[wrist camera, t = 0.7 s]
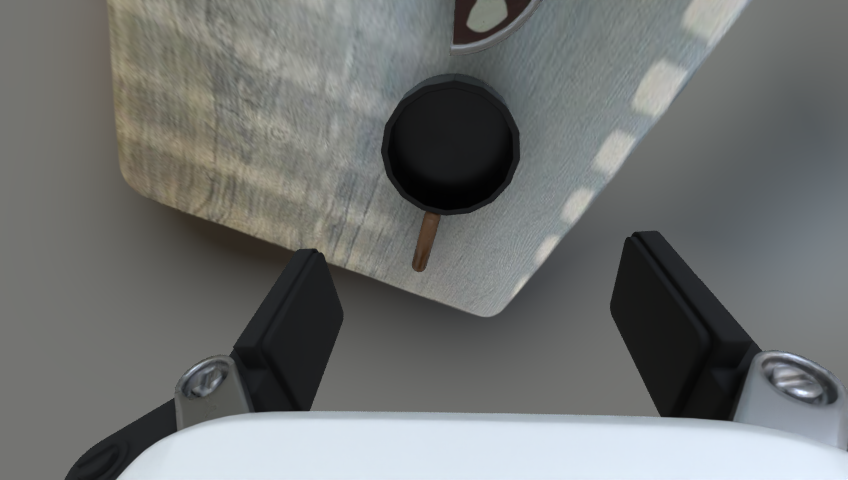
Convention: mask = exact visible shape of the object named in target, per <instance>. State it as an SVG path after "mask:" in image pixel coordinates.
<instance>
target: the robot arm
mask: <svg viewBox="0 0 848 480" xmlns="http://www.w3.org/2000/svg"><path fill="white" fill-rule="evenodd" d="M610 311H611V315H612V317H613V319H614V321H615V323H616V325H617V327H618V330H619V331H620V334H621V336H622V338H623V340H624V342H625V344H626V346H627V348H628V350H629V352H630V354H631V356H632V359H633V360H634V363H635V365H636V367H637V369H638V371H639V373H640V375H641V377H642V379H643V381H644V383H645V386H646V388H647V390H648V392H649V394H650V396H651V398H652V400H653V402H654V404H655V406H656V408H657V410H658V412H659V414H660V416H661V417H642V416H608V415H607V416H606V415H557V414H556V415H555V414H506V413H505V414H503V413H441V412H439V413H438V412H354V411H353V412H352V411H349V412H348V411H310V409H311V406H312V403H313V400H314V398H315V395H316V392H317V389H318V387H319V384H320V382H321V379H322V376H323V374H324V371H325V368H326V365H327V363H328V360H329V357H330V354H331V352H332V349H333V346H334V343H335V341H336V338H337V336H338V333H339V330H340V327H341V325H342V322H343V310H342V307H341V304H340V301H339V298H338V296H337V292H336V289H335V286H334V284H333V280H332V278H331V275H330V272H329V269H328V266H327V263H326V260H325V257H324V255H323V253H319V252H318V250H317V249H315V248H314V249H299V250H297V251H296V252H295V254H294V255H293V257H292V258H291V260H290V261H289V263H288V264H287V266H286V267H285V269H284V270H283V272H282V273H281V275H280V276H279V278H278V279H277V281H276V283H275V284H274V286H273V287H272V289H271V290H270V292H269V293H268V295H267V296H266V298H265V299H264V301H263V302H262V304H261V305H260V307H259V308H258V310H257V311H256V313H255V315H254V316H253V317H252V319H251V321H250V322H249V324H248V325H247V327H246V328H245V330H244V331H243V333H242V334H241V336H240V337H239V339H238V340H237V342H236V343H235V345H234V346H233V348H234V349H233V351H232V352H231V354H230V355H229V356H227V355H215V356H211V357H208V358H206V359H203V360H201V361H200V362H198V363H196V364H195V365H193V366H192V367H191V368H190V369H189V370H187V371H186V372H185V373H184V375H183V376H182V377H181V378H180V379H179V381H178V383H177V385H176V387H175V393H174V398H173V399H172V400H170V401H168V402H167V403H165V404H163V405H161V406H160V407H158V408H156V409H155V410H153V411H151V412H149V413H148V414H146V415H144V416H143V417H141V418H139V419H138V420H136V421H134V422H132V423H131V424H129V425H127V426H126V427H124V428H123V429H121V430H119V431H117V432H116V433H114V434H112V435H110V436H109V437H107V438H105V439H104V440H102V441H100V442H99V443H97V444H96V445H95V446H93V447H92V448H90V449H89V450H88V451H87V452H86V453H85V454H84V455H82V457H80V458H79V459H78V461H77V462H76V463H75V464H74V465H73V467H72V468H71V469H70V471H69V473H68V474H67V476H66V478H65V480H848V390H847V389H846V387H845V386H844V385H843V383H842V382H841V381H840V380H839V379H838V378H837V377H836V376H835V375H833V374H832V373H831V372H830V371H829V370H827V369H825V368H824V367H822V366H820V365H819V364H818V363H816V362H814V361H812V360H809V359H807V358H805V357H803V356H800V355H797V354H793V353H790V352H784V351H778V350H769V351H762V350H761V349H760V348H759V347H758V345H757V344H756V343H755V342H754V341H753V340H752V339H751V337H750V336H749V335H748V334H747V333H746V332H745V331H744V329H743V328H742V327H741V326H740V325H739V324H738V322H737V321H736V320H735V319H734V318H733V317H732V315H731V314H730V313H729V312H728V311H727V310H726V309H725V307H724V306H723V305H722V304H721V303H720V302H719V300H718V299H717V298H716V297H715V296H714V294H713V293H712V292H711V291H710V290H709V289H708V288H707V287H706V285H705V284H704V283H703V282H702V281H701V280H700V279H699V278H698V277H697V275H696V274H694V272H693V271H692V270H691V268H690V267H689V266H688V265H687V264H686V263H685V262H684V260H683V259H682V258H681V257H680V256H679V255H678V254H677V252H676V251H675V250H674V249H673V248H672V246H671V245H670V244H669V243H668V242H667V241H666V240H665V238H664V237H663V236H662V235H661V234H660V233H659V232H658V231H642V232H634V233H633V234H632V236H631V237H627V238H626V240H625V243H624V247H623V252H622V256H621V260H620V265H619V269H618V274H617V277H616V282H615V286H614V290H613V294H612V299H611V303H610Z"/></svg>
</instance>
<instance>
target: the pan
mask: <svg viewBox="0 0 848 480" xmlns="http://www.w3.org/2000/svg"><path fill="white" fill-rule="evenodd" d="M381 154H382V158H383V162H384V166H385V170H386V174H387V176H388V178H389V180H390V181H391V182H392V184H393V185H394V187H395V188H396V189H397V191H398V192H399V194H400V195H401V196H402V197H403V198H405V199H406V200H408V201H409V202H411V203H412V204H414V205H415V206H417V207H418V208H420V209H421V210H424V211H426V212H425V214H424V218H423V222H422V226H421V230H420V234H419V238H418V241H417V245H416V249H415V253H414V257H413V261H412V268H413V269H414V270H415V271H417V272H422V271H424V270H425V268H426V266H427V263H428V259H429V256H430V252H431V249H432V245H433V242H434V239H435V235H436V232H437V228H438V225H439V221H440V217H441V215H446V216H447V215H456V214H466V213H471V212H473V211H475V210H477V209H479V208H481V207H483V206H485V205H488V204H490V203H492V201H494V200H495V199H496V198H497V197H498V196H499V195H500V194H501V193H502V192H503V191H504V189H505V188H506V187H507V186H508V185H509V184H510V183H511V180H512V178H513V175H514V173H515V170H516V168H517V165H518V163H519V160H520V141H519V130H518V128H517V126H516V124H515V121H514V119H513V117H512V115H511V113H510V111H509V109H508V107H507V105H506V103H505V101H504V99H503V97H502V96H500V95H499V94H498V93H497V92H496V91H495V90H494V89H493V88H492V87H490V86H489V85H487V84H486V83H485V82H483V81H482V80H479V79H477V78H474V77H471V76H467V75H462V74H444V75H439V76H435V77H431V78H428V79H426V80H424V81H423V82H421V83H419V84H417V85H416V86H415V87H413V88H412V89H411V90H410V91H408V92H407V93H406V94H405V95H404V96H403V98H402V99H401V101H400V103H399V104H398V106H397V107H396V109H395V110H394V112H393V114H392V115H391V117H390V118H389V120H388V122H387V123H386V125H385V129H384V136H383V142H382V148H381ZM440 214H441V215H440Z"/></svg>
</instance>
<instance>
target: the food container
mask: <svg viewBox="0 0 848 480" xmlns="http://www.w3.org/2000/svg"><path fill="white" fill-rule="evenodd" d="M542 1H543V0H456V1H455V11H454V13H455V14H454V25H453V32H452V38H451V45H450V56H452V55H467V54H472V53H477V52H480V51H483V50H485V49H488V48H490V47H493V46H495V45H496V44H498V43H500V42H502V41H503V40H505V39H507V38H508V37H509V36H510V35H512V34H513V33H514V32H516V31H517V30H518V29H519V28H520V27H521V26H522V25H523V24H524V23H525V22H526V21H527V20H528V19H529V18H530V17H531V16H532V15H533V13H534V12H535V10H536V9H537V8H538V6H539V5H540V4H541V2H542Z"/></svg>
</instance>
